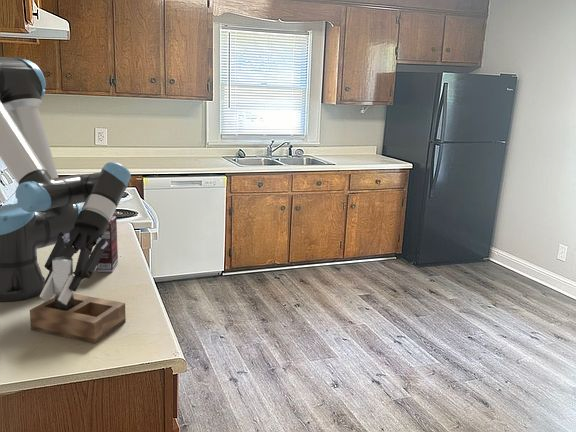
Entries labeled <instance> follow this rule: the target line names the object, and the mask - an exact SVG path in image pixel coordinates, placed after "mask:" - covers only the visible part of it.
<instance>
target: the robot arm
mask: <svg viewBox="0 0 576 432" xmlns="http://www.w3.org/2000/svg"><path fill="white" fill-rule="evenodd" d="M46 88H47V83H46V78H45V76H44V74H43V71H42V70H41V69H40V67H39V66H38V65H37V64H36V63H34V62H33V61H31V60H28V59H25V58H21V57H5V56H0V159H1V160H2V162H3V164H4V165H5V166H6V168H7V169H8V171H9V173H10V174H11V175H12V177H13V179H14V180H15V182H16V183H17V187H16V190H15V198H16V199H17V200H16V203H13V204H12V203H10V204H5V205H0V302H16V301H22V300H26V299H31V298H34V297H36V296H38V295H39V298H41V299H42V300H43V301H45V302H46V301H49V300H50V299H51V298H52V295H53V294H54V286H53V268H52V259H54V258H56V257H62V256H67V257H71V258H72V259H73V256H74V255H75V254H77V253H78V252H79V254H78V258H77V262H76V265H75V269H74V271H73V275H70V276H69V278H68V280H67V282H66V284H65V286H64V288H63V290H62V292H61V294H60V296H59V298H58V301H60V302H61V303H62V304H64V305H67V303H68V301H69V299H70V297H71V295H72V293H73V291H74V292H76V291H77V290H78V288H79V286H80V284H81V281H82V280H83V279H91V278H92V276H93V274H94V272H95V270H96V269H97V264H98V262H99V260H100V258H101V256H102V254H103V252H104V251H105V250H106V249H107V248H108V247H109V244H108V243H107V241H106V240H105V239H102V235H104V233H105V231H106V229H107V227H108V225H109V223H108V222H109V221H110V220H111V218H112V216H114V214H115V212H116V210H117V207H118V206H119V204H120V202H121V200H122V197H123V195H124V194H125V191H126V190H127V189H128V185H129V183H130V180H131V178H132V176H131V172H130V170H129V169H128V168H127V167H126V166H124V165H123V164H121V163H119V162H116V161H108V162H106V163H105V164H104V165H103V167H102V168H101V171H99V172H93V173H82V174H80V173H78V174H77V173H76V174H72V175H68V176H63V177H59V174H58V172H57V171H58V170H57V168H56V164H55V161H54V157H53V155H52V152H51V148H50V144H49V141H48V137H47V134H46V130H45V127H44V125H43V124H44V123H43V120H42V118H41V114H40V113H41V112H40V109H39V108H40V106H41V105H42V104H43V100H42V98H43V97H44V96H45V93H46ZM81 203H84V204H83V205H81ZM50 246H53V248H52V250H51V252H50V254H49V256H48V257H47V259H46V261H45V264H44V268H45V269H46V270H47V271H48V274H47V277H46V278H45V277H44V275H43V272H42V270H41V267H40V264H39V263H38V254H37V253H38V252H37V250H39V249H42V248H47V247H50Z"/></svg>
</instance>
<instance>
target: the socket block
mask: <svg viewBox="0 0 576 432" xmlns="http://www.w3.org/2000/svg"><path fill="white" fill-rule="evenodd" d="M74 303H75V307H73V308H71V309H69V310H68V311H64V310H59V309H55V304H54V297H51V298H50V299H49V301H45V302H43V303H41V304H38V305H36V306H35V307H33V308H31V309H29V319H30V321H29V322H30V330H31V331H34V332H40V333H45V334H49V335H53V336H58V337H63V338H66V339H67V338H68V339H73V340H77V341H83V342H86V343H91V344H97V343H98V342H100V341H101V340H102V339H104V338H105V337H106V336H108V335H109V334H111V333H112V332H114V331H115V330H116V329H118V328H119V327H121V326H122V325H124V324H125V323H126V319H127V318H126V303H125V302H121V301H117V300H110V299H104V298H100V297H94V296H88V295H83V294H79V293H78V294H77V293H74Z"/></svg>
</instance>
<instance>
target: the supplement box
mask: <svg viewBox="0 0 576 432" xmlns="http://www.w3.org/2000/svg"><path fill="white" fill-rule="evenodd" d="M108 223H109V225H108V227H107V229H106V231H105V233H104V235H102V239H105V240H106V241H107V243H108V244H109V247H108V248H107V249H106V250H105V251H104V252H103V254H102V256H101V258H100V260H99V262H98V264H97V266H96V270H97V273H113V272H114V270H115V269H116V267H117V266H118V264H119V255H118V250H119V249H118V227H117V216H115V215H113V216H112V218H111V220H110V221H109V222H108Z"/></svg>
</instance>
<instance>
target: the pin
mask: <svg viewBox="0 0 576 432" xmlns="http://www.w3.org/2000/svg"><path fill="white" fill-rule="evenodd" d="M73 261H74V259H73V257H72V258H71V257H67V256H62V257H56V258H54V259H52V268H53V286H54V291H53V298H54V304H55V309H59V310H64V311H68V310H69V309H71V308H73V307H75V303H74V294H75V291H73V293H72V295H71V297H70V299H69V301H68V303H67V305H64V304H62V303H61V302H60V301H58V298H59V296H60V294H61V292H62V290H63V288H64V286H65V284H66V282H67V280H68V278H69V276H70V275H73V276H74V274H73V272H74V264H73Z"/></svg>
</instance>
